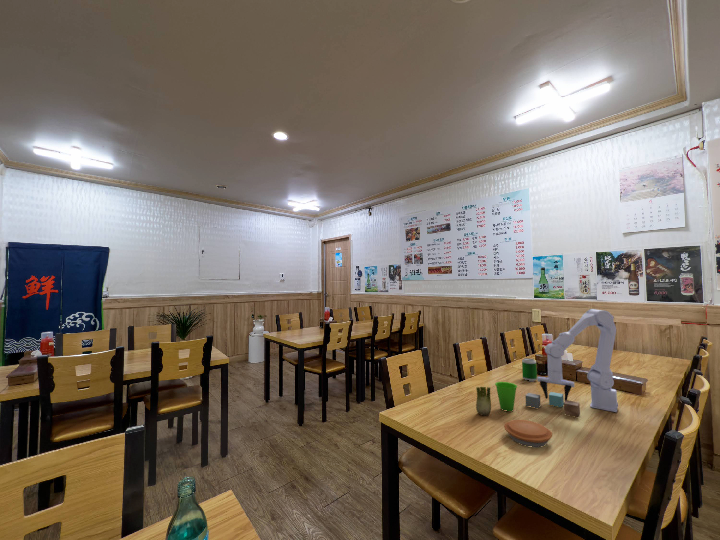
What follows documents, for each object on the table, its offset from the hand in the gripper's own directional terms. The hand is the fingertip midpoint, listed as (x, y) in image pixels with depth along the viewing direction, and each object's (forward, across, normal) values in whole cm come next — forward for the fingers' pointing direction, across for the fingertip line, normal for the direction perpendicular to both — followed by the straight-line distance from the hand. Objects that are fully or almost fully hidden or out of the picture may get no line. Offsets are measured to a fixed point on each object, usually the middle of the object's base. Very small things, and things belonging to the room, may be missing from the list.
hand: (556, 399), depth 145 cm
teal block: (+2, 0, 0) cm, 3 cm away
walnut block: (+2, -7, +8) cm, 11 cm away
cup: (+3, +17, +19) cm, 26 cm away
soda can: (+3, +18, -36) cm, 40 cm away
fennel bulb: (+3, +23, +31) cm, 39 cm away
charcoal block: (+3, +8, +8) cm, 12 cm away
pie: (+3, +4, +44) cm, 44 cm away
